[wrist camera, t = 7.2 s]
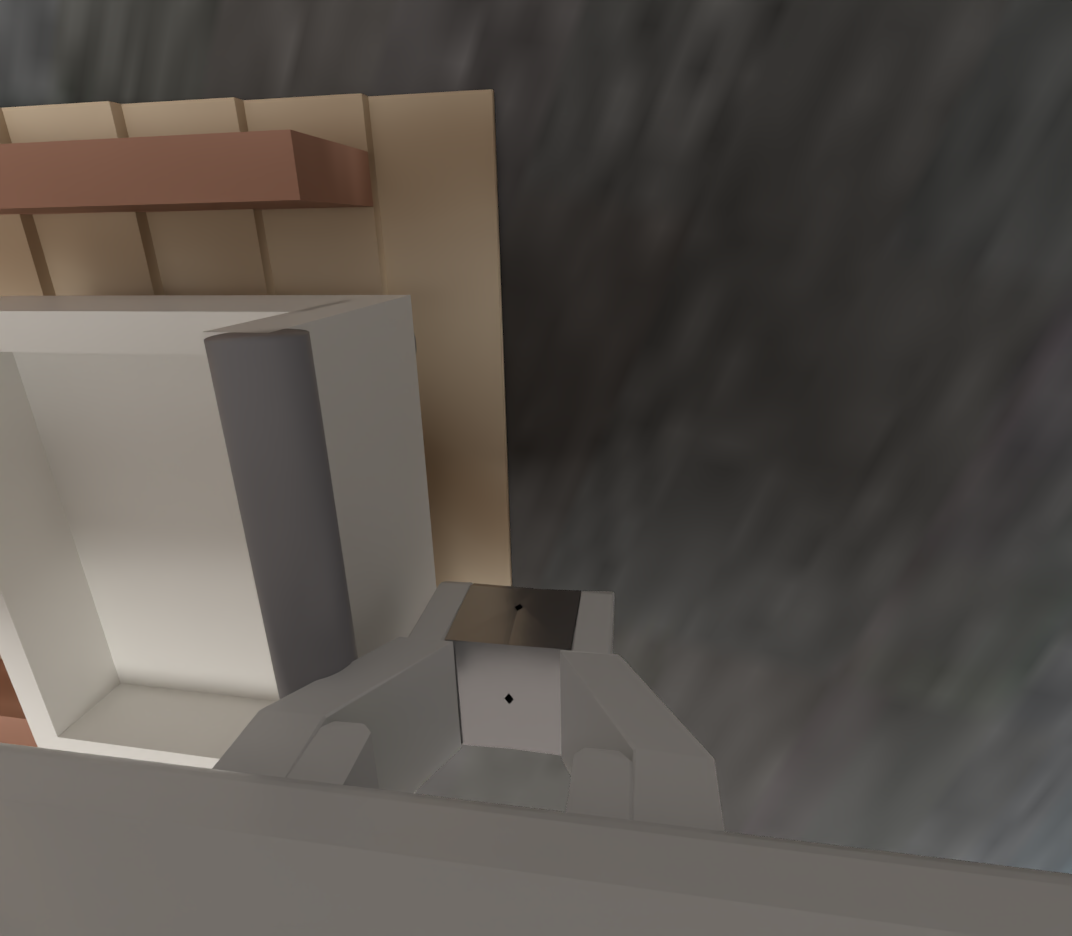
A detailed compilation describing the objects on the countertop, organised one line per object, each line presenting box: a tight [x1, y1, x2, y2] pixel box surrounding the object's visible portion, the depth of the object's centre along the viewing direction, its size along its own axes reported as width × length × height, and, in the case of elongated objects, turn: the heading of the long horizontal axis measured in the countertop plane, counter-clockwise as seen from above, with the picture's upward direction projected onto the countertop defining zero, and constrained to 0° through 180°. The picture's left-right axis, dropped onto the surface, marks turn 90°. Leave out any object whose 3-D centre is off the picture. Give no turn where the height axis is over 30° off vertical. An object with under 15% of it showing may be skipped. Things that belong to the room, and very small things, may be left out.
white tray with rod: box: [0, 295, 437, 794], centre depth 11 cm, size 9×8×6 cm
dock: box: [0, 89, 512, 747], centre depth 14 cm, size 16×17×4 cm
